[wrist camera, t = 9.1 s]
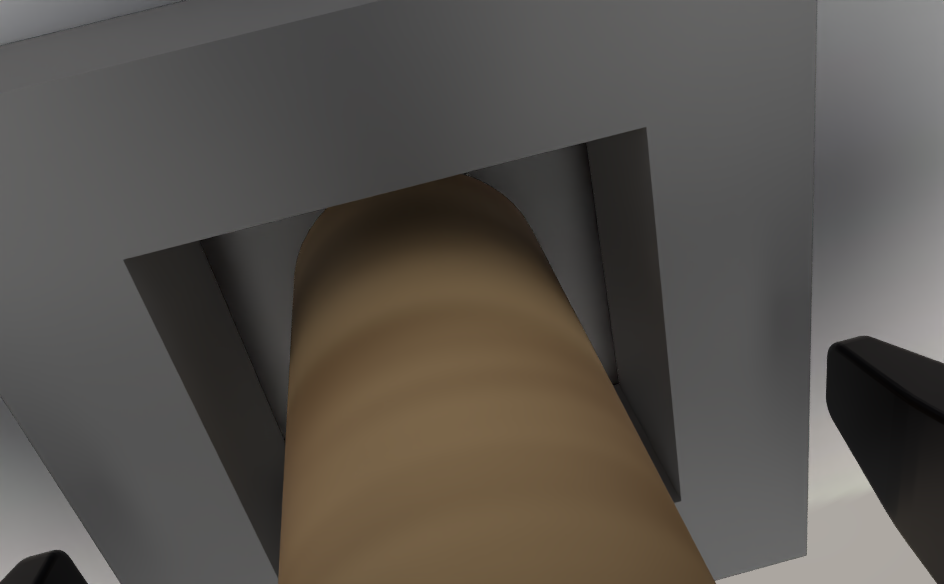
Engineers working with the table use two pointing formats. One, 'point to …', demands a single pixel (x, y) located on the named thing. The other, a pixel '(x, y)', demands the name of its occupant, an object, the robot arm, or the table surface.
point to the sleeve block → (381, 171)
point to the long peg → (458, 411)
